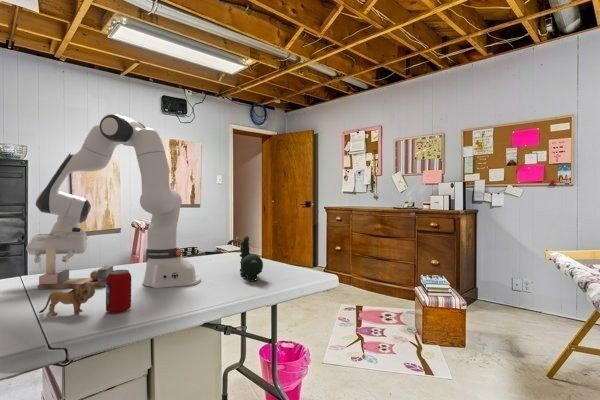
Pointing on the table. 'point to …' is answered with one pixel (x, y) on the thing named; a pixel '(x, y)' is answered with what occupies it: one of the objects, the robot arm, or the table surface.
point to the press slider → (52, 270)
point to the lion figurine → (71, 297)
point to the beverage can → (118, 291)
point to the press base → (82, 280)
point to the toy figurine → (249, 262)
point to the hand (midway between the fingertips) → (50, 261)
